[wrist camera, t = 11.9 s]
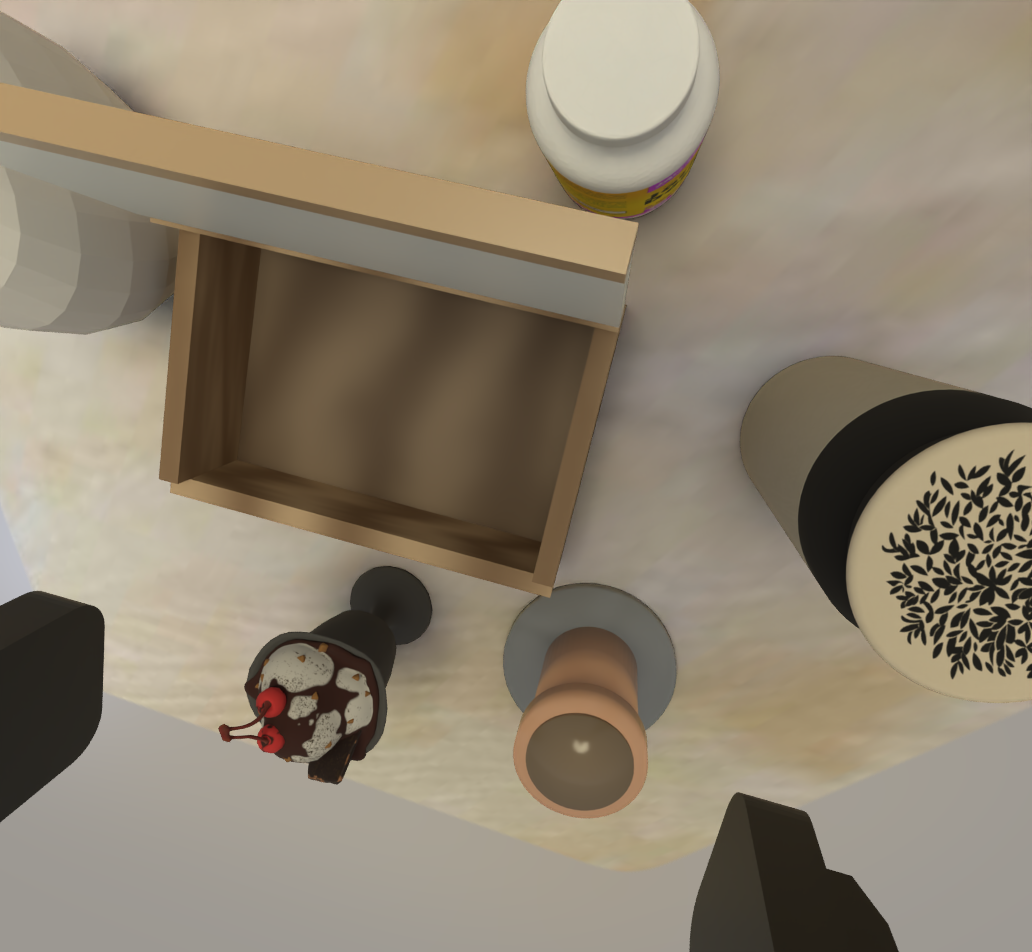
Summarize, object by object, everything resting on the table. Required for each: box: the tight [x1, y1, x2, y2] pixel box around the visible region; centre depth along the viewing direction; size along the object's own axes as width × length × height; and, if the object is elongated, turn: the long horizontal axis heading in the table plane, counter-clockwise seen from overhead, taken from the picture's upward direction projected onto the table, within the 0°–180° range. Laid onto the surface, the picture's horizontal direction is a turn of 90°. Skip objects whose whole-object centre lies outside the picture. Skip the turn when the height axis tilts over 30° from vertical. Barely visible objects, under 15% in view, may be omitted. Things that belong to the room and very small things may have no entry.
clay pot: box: [513, 627, 648, 818], centre depth 35 cm, size 6×6×8 cm
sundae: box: [218, 566, 432, 784], centre depth 34 cm, size 7×7×15 cm
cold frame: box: [150, 217, 627, 598], centre depth 34 cm, size 20×14×8 cm
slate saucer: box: [503, 583, 676, 730], centre depth 39 cm, size 10×10×1 cm
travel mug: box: [740, 356, 1032, 703], centre depth 26 cm, size 8×8×18 cm
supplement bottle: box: [526, 0, 720, 219], centre depth 27 cm, size 7×7×13 cm
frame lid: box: [0, 82, 639, 328], centre depth 20 cm, size 20×14×1 cm
